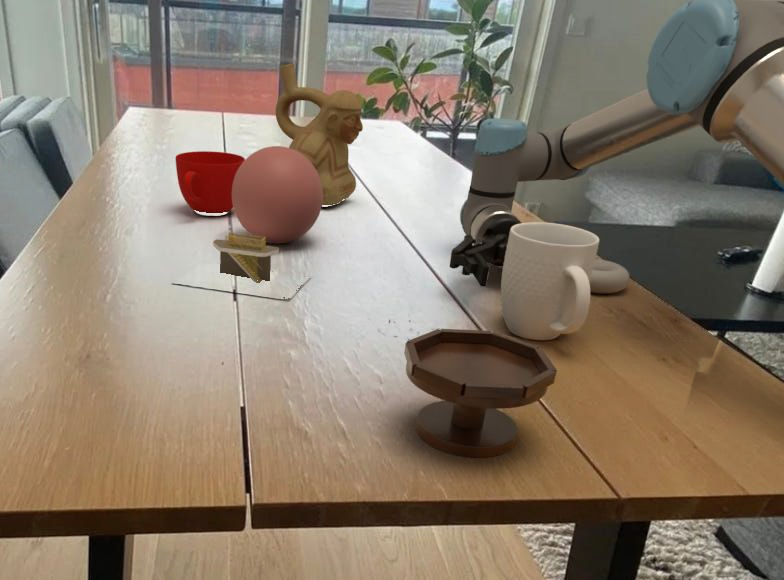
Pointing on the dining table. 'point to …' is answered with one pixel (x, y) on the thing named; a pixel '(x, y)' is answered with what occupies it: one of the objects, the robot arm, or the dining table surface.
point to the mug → (547, 279)
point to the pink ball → (277, 194)
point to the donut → (608, 277)
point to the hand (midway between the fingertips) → (534, 279)
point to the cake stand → (474, 387)
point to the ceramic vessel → (323, 133)
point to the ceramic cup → (207, 179)
